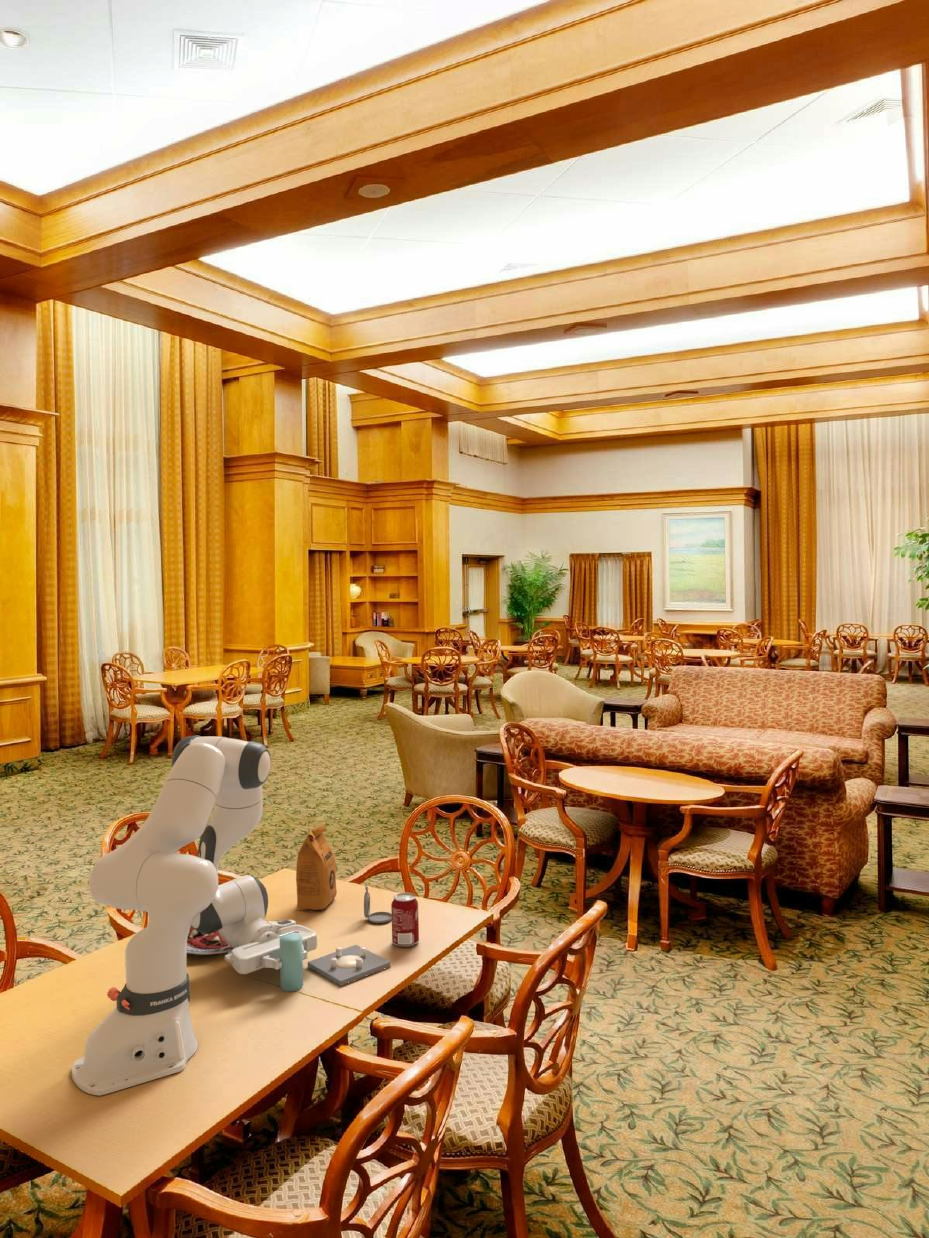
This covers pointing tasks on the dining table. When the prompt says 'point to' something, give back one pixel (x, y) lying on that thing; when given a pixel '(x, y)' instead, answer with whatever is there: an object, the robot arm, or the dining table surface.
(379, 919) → the pocket watch
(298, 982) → the teal post
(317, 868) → the coffee package
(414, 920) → the soda can
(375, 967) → the dowel seat
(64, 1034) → the dining table surface
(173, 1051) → the robot arm
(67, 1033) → the dining table surface
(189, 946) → the ceramic plate
